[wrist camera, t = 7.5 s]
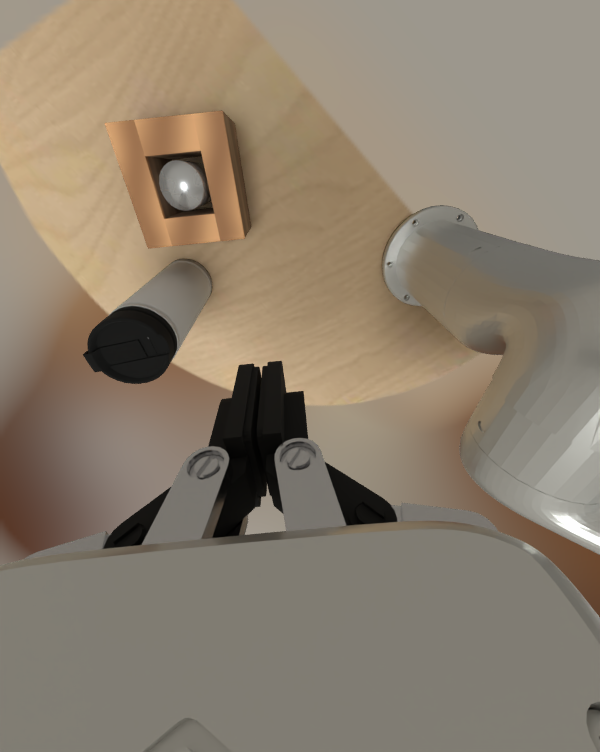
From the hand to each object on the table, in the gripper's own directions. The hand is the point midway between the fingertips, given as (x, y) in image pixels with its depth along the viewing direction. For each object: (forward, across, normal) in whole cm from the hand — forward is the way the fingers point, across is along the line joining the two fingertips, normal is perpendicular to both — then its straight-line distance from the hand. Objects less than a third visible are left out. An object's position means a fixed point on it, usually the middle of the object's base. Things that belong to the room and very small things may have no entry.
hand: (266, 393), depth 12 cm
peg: (+32, +8, -7) cm, 34 cm away
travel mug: (+32, +13, +4) cm, 35 cm away
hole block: (+32, +8, -7) cm, 34 cm away
